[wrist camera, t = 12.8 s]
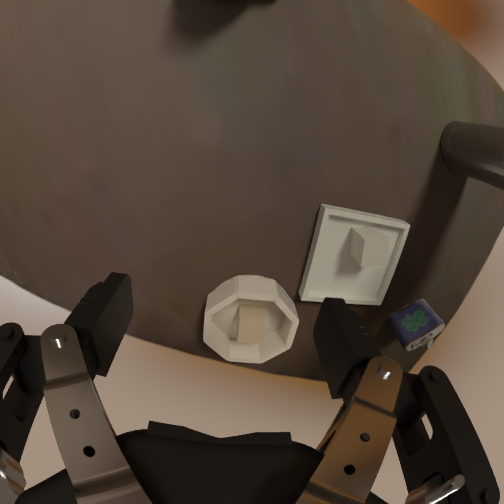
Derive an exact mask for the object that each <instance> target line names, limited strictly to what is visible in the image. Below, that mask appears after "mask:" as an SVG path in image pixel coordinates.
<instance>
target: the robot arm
mask: <svg viewBox="0 0 504 504" xmlns="http://www.w3.org/2000/svg"><path fill="white" fill-rule="evenodd" d="M441 149H442V155H443V158H444V160H445V162H446V164H447V166H448V167H449V168H450V169H451V170H452V171H455V172H457V173H460V174H463V175H466V176H469V177H471V178H474V179H477V180H479V181H482V182H485V183H487V184H490V185H492V186H495V187H497V188H500V189H502V190H504V128H503V127H497V126H491V125H485V124H478V123H470V122H461V121H453V122H451V123H449V124H448V125H447V126H446V128H445V130H444V132H443V135H442V140H441ZM132 316H133V298H132V287H131V278H130V275H128V274H122V273H116V272H112V273H110V275H109V276H108V277H107V279H106V280H105V281H104V283H103V282H99V283H97V284H95V285H94V286H92V287H91V288H90V289H89V290H88V291H87V293H86V294H85V295H84V297H83V298H82V299H81V300H80V303H78V304H77V306H76V307H75V308H74V310H73V311H72V313H71V314H70V315H69V317H68V318H67V320H66V321H65V322H64V324H56V325H53V326H50V327H48V328H47V329H46V330H45V331H44V332H43V333H42V335H41V336H35V335H34V336H32V335H24V332H23V330H22V328H21V326H20V325H19V324H17V323H6V324H3V325H1V326H0V504H388V503H387V502H385V501H384V500H382V499H381V498H379V497H378V496H377V495H375V494H373V493H372V492H371V491H370V490H371V488H372V486H373V483H374V481H375V478H376V476H377V474H378V471H379V469H380V466H381V464H382V461H383V459H384V456H385V454H386V451H387V448H388V445H389V442H390V440H391V437H392V438H393V441H394V444H395V447H396V450H397V454H398V457H399V461H400V464H401V468H402V471H403V475H404V478H405V482H406V486H407V490H408V494H409V495H408V496H407V498H406V502H405V504H498V503H499V499H500V492H499V488H498V485H497V482H496V479H495V476H494V474H493V471H492V468H491V466H490V463H489V461H488V458H487V456H486V453H485V451H484V449H483V446H482V444H481V442H480V439H479V437H478V435H477V433H476V431H475V429H474V427H473V425H472V423H471V420H470V418H469V416H468V414H467V412H466V410H465V408H464V407H463V404H462V403H461V401H460V399H459V397H458V395H457V393H456V392H455V390H454V388H453V386H452V384H451V382H450V381H449V379H448V377H447V375H446V374H445V373H444V372H443V371H442V370H441V369H439V368H437V367H435V366H425V367H423V368H422V370H421V371H420V373H419V374H418V375H416V374H410V373H405V372H402V369H401V367H400V366H399V365H398V364H397V363H396V362H395V361H393V360H392V359H390V358H387V357H383V356H382V355H381V353H380V351H379V349H378V347H377V346H376V344H375V342H374V340H373V338H372V336H371V334H369V331H368V329H367V328H366V325H365V324H364V322H363V320H362V318H361V317H360V316H359V315H358V314H356V313H355V312H354V311H353V310H350V309H349V308H348V306H347V304H346V302H345V300H344V299H343V298H333V297H325V298H324V300H323V302H322V305H321V308H320V311H319V314H318V317H317V320H316V323H315V326H314V331H313V337H314V342H315V345H316V348H317V351H318V354H319V358H320V361H321V364H322V367H323V371H324V374H325V377H326V380H327V384H328V387H329V390H330V394H331V397H332V399H338V398H343V401H344V403H343V405H342V406H341V408H340V410H339V412H338V414H337V415H336V417H335V419H334V421H333V422H332V424H331V426H330V428H329V429H328V431H327V433H326V435H325V436H324V438H323V440H322V441H321V442H320V444H319V445H318V447H317V448H316V449H314V448H312V447H310V446H307V445H305V444H302V443H298V442H294V441H292V440H291V434H290V432H255V433H250V434H245V435H239V436H233V437H226V438H217V437H214V436H210V435H207V434H204V433H201V432H198V431H195V430H192V429H189V428H187V427H184V426H178V425H171V424H165V423H160V422H154V421H149V424H148V429H141V430H134V431H130V432H126V433H123V434H120V435H118V436H117V435H116V433H115V431H114V429H113V427H112V425H111V423H110V421H109V418H108V416H107V414H106V412H105V409H104V407H103V405H102V402H101V400H100V397H99V395H98V392H97V390H96V387H95V384H94V382H93V380H94V378H95V376H96V375H100V376H104V377H106V375H107V373H108V371H109V368H110V366H111V364H112V361H113V359H114V357H115V354H116V352H117V350H118V347H119V345H120V343H121V341H122V339H123V337H124V334H125V332H126V330H127V328H128V326H129V324H130V322H131V319H132ZM11 375H12V377H13V381H12V383H11V385H10V387H9V389H8V391H7V393H6V395H5V397H4V399H3V390H4V388H5V386H6V384H7V382H8V380H9V378H10V377H11ZM44 396H45V400H46V405H47V409H48V413H49V417H50V421H51V424H52V428H53V431H54V435H55V438H56V441H57V444H58V447H59V450H60V453H61V456H62V459H63V461H64V464H65V467H66V468H65V469H63V470H61V471H60V472H58V473H56V474H55V475H53V476H51V477H49V478H48V479H46V480H44V481H42V482H40V483H39V484H37V485H35V486H33V487H31V488H29V489H28V490H25V491H24V487H25V485H26V481H25V478H24V474H23V470H22V468H21V466H20V464H19V463H20V460H21V456H22V453H23V450H24V447H25V444H26V441H27V438H28V435H29V432H30V429H31V427H32V424H33V421H34V419H35V416H36V414H37V411H38V408H39V406H40V404H41V401H42V399H43V397H44ZM425 414H427V417H428V419H429V421H430V424H431V426H432V429H433V435H432V438H431V440H430V439H429V436H428V434H427V431H426V429H425V426H424V424H423V421H422V419H421V418H422V417H423V416H424V415H425Z"/></svg>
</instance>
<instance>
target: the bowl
mask: <svg viewBox="0 0 504 504" xmlns="http://www.w3.org/2000/svg"><path fill="white" fill-rule="evenodd" d="M239 304H251V305H264V308H265V315H266V322H267V327H266V332H265V336H264V341H263V344H247V343H237V319H238V311H239ZM298 324H299V319H298V315H297V312H296V308H295V305H294V302H293V301H292V300H291V299H290V297H289V296H288V294H287V292H286V291H285V290H284V288H283V287H282V286H281V285H280V284H278V283H277V282H276V280H274V279H270V278H267V277H264V276H260V275H252V274H248V275H238V276H235V277H232V278H230V279H227V280H226V281H224V282H222V283H221V284H220V285H218V286H217V287H216V288H215V289H214V291H212V292H211V293H209V294H208V297H207V303H206V309H205V318H204V333H203V340H204V342H205V343H206V344H207V345H208V346H210V347H211V348H212V349H213V350H214V351H215V352H217V353H218V354H219V355H220V356H221V357H223V358H224V359H225V360H228V361H233V362H246V363H263V362H265V361H267V360H269V359H271V358H273V357H275V356H277V355H279V354H280V353H282V352H284V351H286V350H288V349H290V347H291V345H292V342H293V339H294V336H295V333H296V330H297V327H298Z"/></svg>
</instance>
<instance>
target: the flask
mask: <svg viewBox="0 0 504 504" xmlns="http://www.w3.org/2000/svg"><path fill="white" fill-rule="evenodd" d="M386 322H387V323H388V325H389V327H390V328H391V330H392V331H393V333H394V334H395V336H396V337H397V339H398V341H399V342H400V344H401V345H402V347H403V348H404V349H405V350H406V351H410V350H412V349H416V348H417V347H419V346H421V345H422V346H425V345H426V344H427V346H428V349H429V348H431V346H433V344H432V341H433V339H432V338H433V337H434V336H436V335H437V334H438V333H440V332H441V331H442V330H443V329H444V326H445V324H444V322H443V321H442V320H441V319H440V318H439V317H438V315H437V314H436V313H435V312H434V311H433V309H432V308H431V307H430V306H429V305H428V304H427V302H426V301H425V300H424V299H423V298H422V297H421V298H418V299H415V300H414V301H413V302H412V303H410V304H407V305H406V306H404V307H403V308H402V309H399V310H398V311H397V312H394V313H392V314H389V315H388V317H387V318H386ZM430 345H431V346H430ZM429 346H430V347H429Z"/></svg>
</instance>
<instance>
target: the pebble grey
mask: <svg viewBox="0 0 504 504" xmlns="http://www.w3.org/2000/svg"><path fill="white" fill-rule="evenodd" d="M389 240H390V239H389V238H388V237H387V236H385V235H384V234H383V233H382V232H381V231H379V230H378V229H377V228H376V227H351V235H350V243H349V251H348V252H349V253H350V254H351V255H352V256H353V258H354V259H355V260H356V261H357V263H358V264H359V265H360V266H361V267H363V266H378V265H385V262H386V257H387V252H388V246H389Z"/></svg>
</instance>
